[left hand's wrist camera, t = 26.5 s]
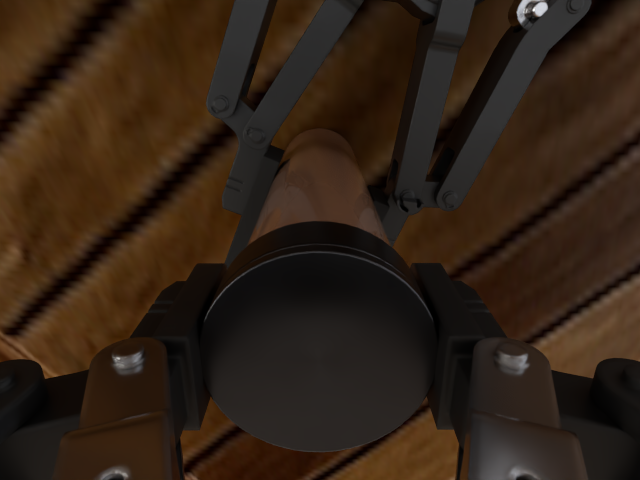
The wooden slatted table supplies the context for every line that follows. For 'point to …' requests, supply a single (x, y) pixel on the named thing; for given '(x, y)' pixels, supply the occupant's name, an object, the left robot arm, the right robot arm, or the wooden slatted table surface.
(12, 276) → the wooden slatted table surface
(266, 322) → the lid
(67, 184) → the wooden slatted table surface
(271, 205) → the brown rounded cylinder
